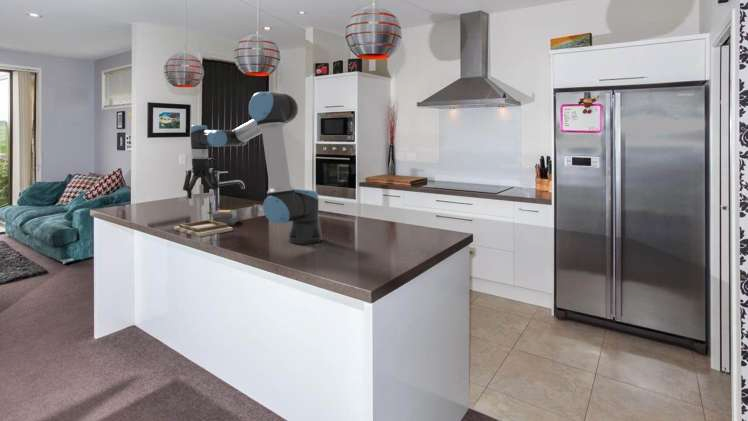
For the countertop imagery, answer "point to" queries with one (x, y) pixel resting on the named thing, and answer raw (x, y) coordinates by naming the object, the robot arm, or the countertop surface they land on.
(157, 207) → the countertop surface
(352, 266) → the countertop surface
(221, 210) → the button
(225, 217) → the button housing
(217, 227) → the pallet
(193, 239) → the countertop surface
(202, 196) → the pipe connector
